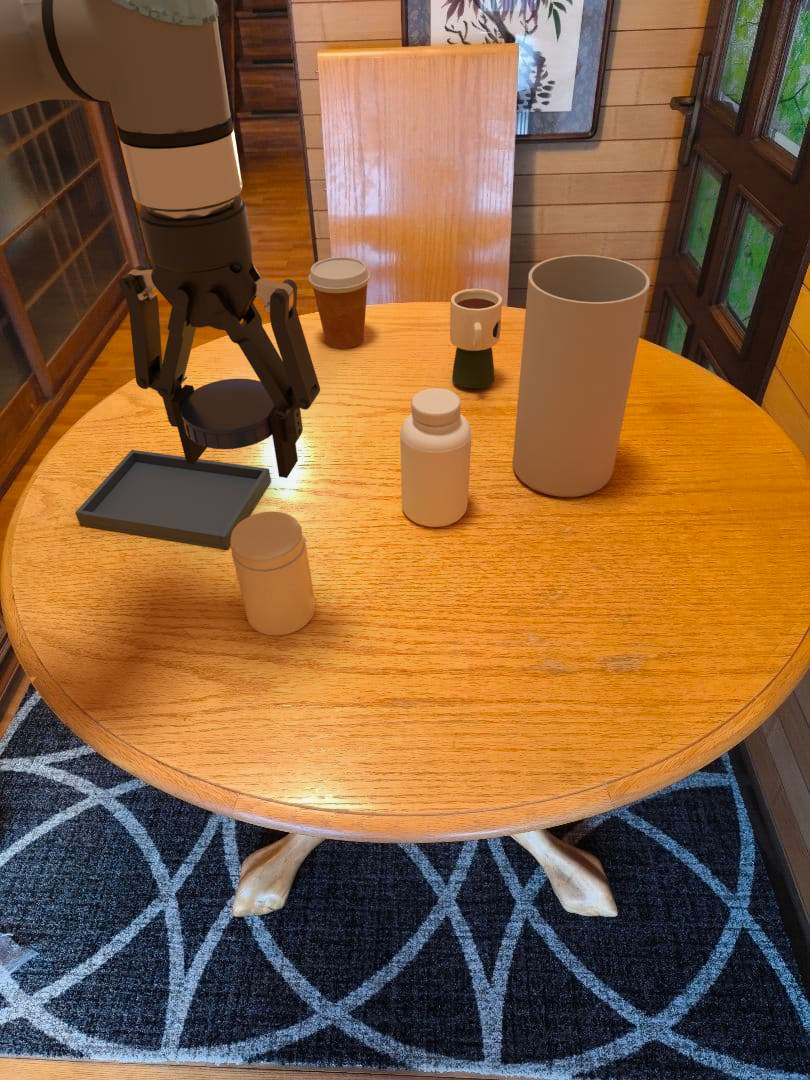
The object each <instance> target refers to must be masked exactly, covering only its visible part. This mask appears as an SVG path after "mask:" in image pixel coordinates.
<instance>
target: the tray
mask: <svg viewBox="0 0 810 1080" xmlns="http://www.w3.org/2000/svg"><path fill="white" fill-rule="evenodd" d="M271 483H272V477H271V472H270V468H268V467H261V466H253V465H245V464H244V465H243V464H237V463H232V462H223V461H217V460H209V459H202V458H199V459H198V460H197V461H196V462H195V464H190V463H186V459H185V456H181V455H174V454H167V453H158V452H152V451H143V450H137V449H131V450H129V452H128V453H127V454H126V455H125V457H123V459H122V460H121V461H120V462H119V463H118V464H117V465H116V467H114V469H113V470H112V471H111V472H110V473H109V474H108V475H107V477H106V478H105V479H104V480H103V481H102V482H101V483H100V484H99V485H98V486H97V487H96V489H95V490H94V491H93V492H92V493H91V494H90V495H89V497H88V498H86V500H85V501H84V502H83V503H82V504H81V505H80V506H79V508H78V509H77V510H76V511H75V512H74V514H75V516H76V519H77V521H78V524H79V526H81V527H86V528H87V527H88V528H95V529H99V530H106V531H112V532H119V533H125V534H129V535H137V536H143V537H149V538H155V539H161V540H167V541H172V542H178V543H179V542H180V543H184V544H191V545H198V546H202V547H209V548H215V549H221V550H229V549H230V548H231V545H230V541H231V534H232V531H233V530H234V528H235V527H236V526H237V525H238V524H239V523H240V522H241V521H242V520H244V519H245V518H247V517H249V516H251V514H252V512H253V511H254V509H255V507H256V506H257V505H258V504H259V501H260V500H261V498H263V497H262V496H263V495H264V494H265V491H267V489H268V487H269V485H270V484H271Z"/></svg>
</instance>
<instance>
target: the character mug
mask: <svg viewBox="0 0 810 1080" xmlns="http://www.w3.org/2000/svg"><path fill="white" fill-rule="evenodd" d="M449 307H450V311H449V313H450V314H449V315H450V316H449V317H450V318H449V341H450V343H451V344H452V346H455V348H456V349H455V355H454V361H453V366H452V377H451V378H452V379H451V380H452V382H453V383H454V384H455V385H456V386H460V387H463V388H471V389H485V388H488V387H490V386H492V385H493V384H494V382H495V365H494V355H493V347H494V346H496V345H497V344H498V343H499V342H500V338H501V330H502V309H503V298H502V296H501V294H499V293H497V292H496V291H493V290H489V289H486V288H467V289H461V290H459V291H457V292H455V293H454V294H452V296H451V298H450V305H449Z"/></svg>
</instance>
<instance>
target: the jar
mask: <svg viewBox="0 0 810 1080" xmlns="http://www.w3.org/2000/svg"><path fill="white" fill-rule="evenodd" d="M230 551H231V558H232V562H233V566H234V570H235V574H236V580H237V583H238V586H239V592H240V595H241V599H242V603H243V607H244V612H245V616H246V620H247V622H248V624H249V625H250V626H251V627H252V628H253V630H255V631H256V632H258V633H261V634H264V635H267V636H285V635H289V634H293V633H295V632H297V631H299V630H301V629H302V628H304V627H305V626H307V624H308V623H309V622H310V621H311V620H312V619H313V617H314V615H315V612H316V600H315V593H314V586H313V580H312V573H311V567H310V560H309V554H308V547H307V541H306V538H305V535H304V533H303V528H302V525H301V523H300V522H299V521H298V520H297V518H295V517H294V516H293V515H291V514H288V513H285V512H281V511H261V512H259V513H255V514H252V515H249V517H247V518H245V519H244V520H242V521H241V522H240V523H239V524H238V525H237V526H236V527H235V528H234V530H233V531H232V534H231V541H230Z"/></svg>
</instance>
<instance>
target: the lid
mask: <svg viewBox="0 0 810 1080" xmlns="http://www.w3.org/2000/svg"><path fill="white" fill-rule="evenodd" d="M274 406H275V404H274V403H273V401H272V399H271V398H270V396H269V394H268V393H267V391H266V389H265V388H264V386H263V385H262V383H261V381H260V380H257V379H251V378H228V379H221V380H216V381H212V382H209V383H206V384H204V385H202V386H199V387H197V388H195V389H194V391H193V392H191V393H190V394H189V395H188V396H187V397H186V398H185V399H184V401H183V402H182V405H181V415H182V423H183V427H184V431H185V432H186V434H187V436H188V438H190V439H191V440H192V441H193V442H195V443H197V444H199V445H201V446H204V447H207V448H209V449H212V450H213V449H214V450H235V449H242V448H246V447H250V446H253V445H256V444H259V443H261V442H263V441H265V440H267V439H269V438H270V437H271V436H272V430H271V424H270V417H269V413H270V411H271V410H272V409H273V407H274Z"/></svg>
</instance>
